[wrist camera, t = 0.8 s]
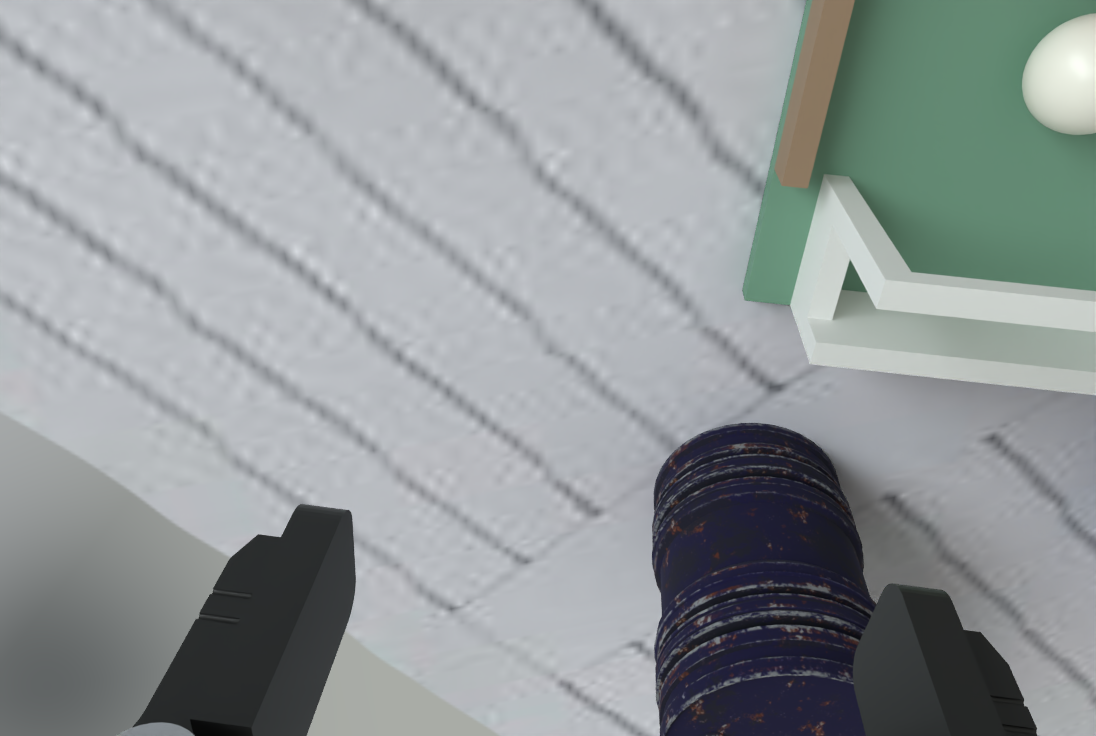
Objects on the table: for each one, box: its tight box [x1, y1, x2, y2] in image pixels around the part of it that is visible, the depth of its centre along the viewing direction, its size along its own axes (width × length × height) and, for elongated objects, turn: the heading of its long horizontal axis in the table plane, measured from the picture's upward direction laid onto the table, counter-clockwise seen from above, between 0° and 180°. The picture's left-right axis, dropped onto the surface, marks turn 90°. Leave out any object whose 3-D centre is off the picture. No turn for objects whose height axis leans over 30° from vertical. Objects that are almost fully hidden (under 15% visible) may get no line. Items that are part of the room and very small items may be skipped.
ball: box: [1022, 13, 1096, 135], centre depth 29 cm, size 4×4×4 cm
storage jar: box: [652, 423, 876, 736], centre depth 37 cm, size 10×10×15 cm
